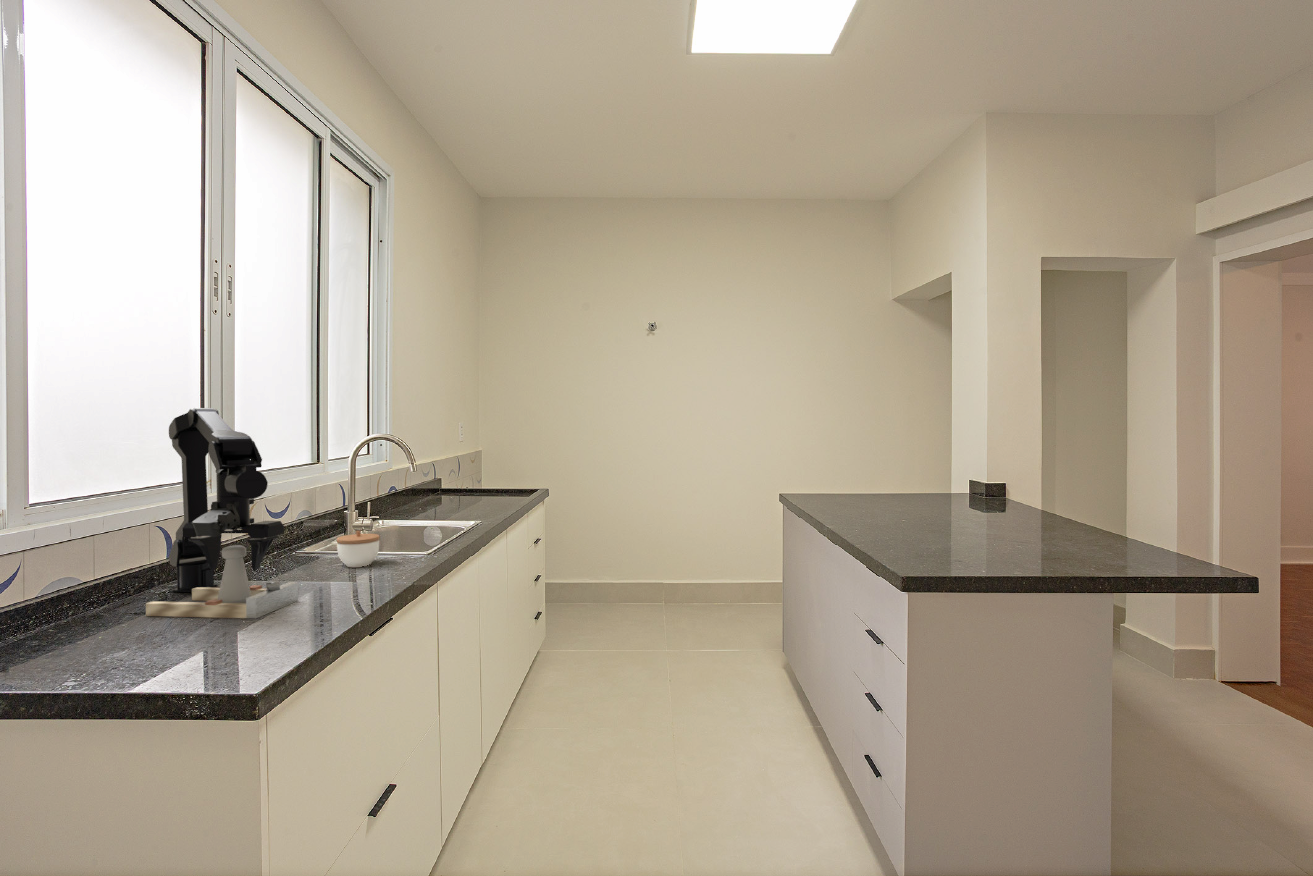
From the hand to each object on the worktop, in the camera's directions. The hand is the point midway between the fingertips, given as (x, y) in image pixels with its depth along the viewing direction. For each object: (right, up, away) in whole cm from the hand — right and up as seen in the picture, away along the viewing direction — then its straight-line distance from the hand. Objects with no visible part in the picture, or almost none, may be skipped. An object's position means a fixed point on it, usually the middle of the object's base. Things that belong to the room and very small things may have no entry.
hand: (234, 570), depth 134 cm
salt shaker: (0, -8, 0) cm, 8 cm away
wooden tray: (-3, -8, 0) cm, 9 cm away
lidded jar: (+7, -7, +42) cm, 43 cm away
